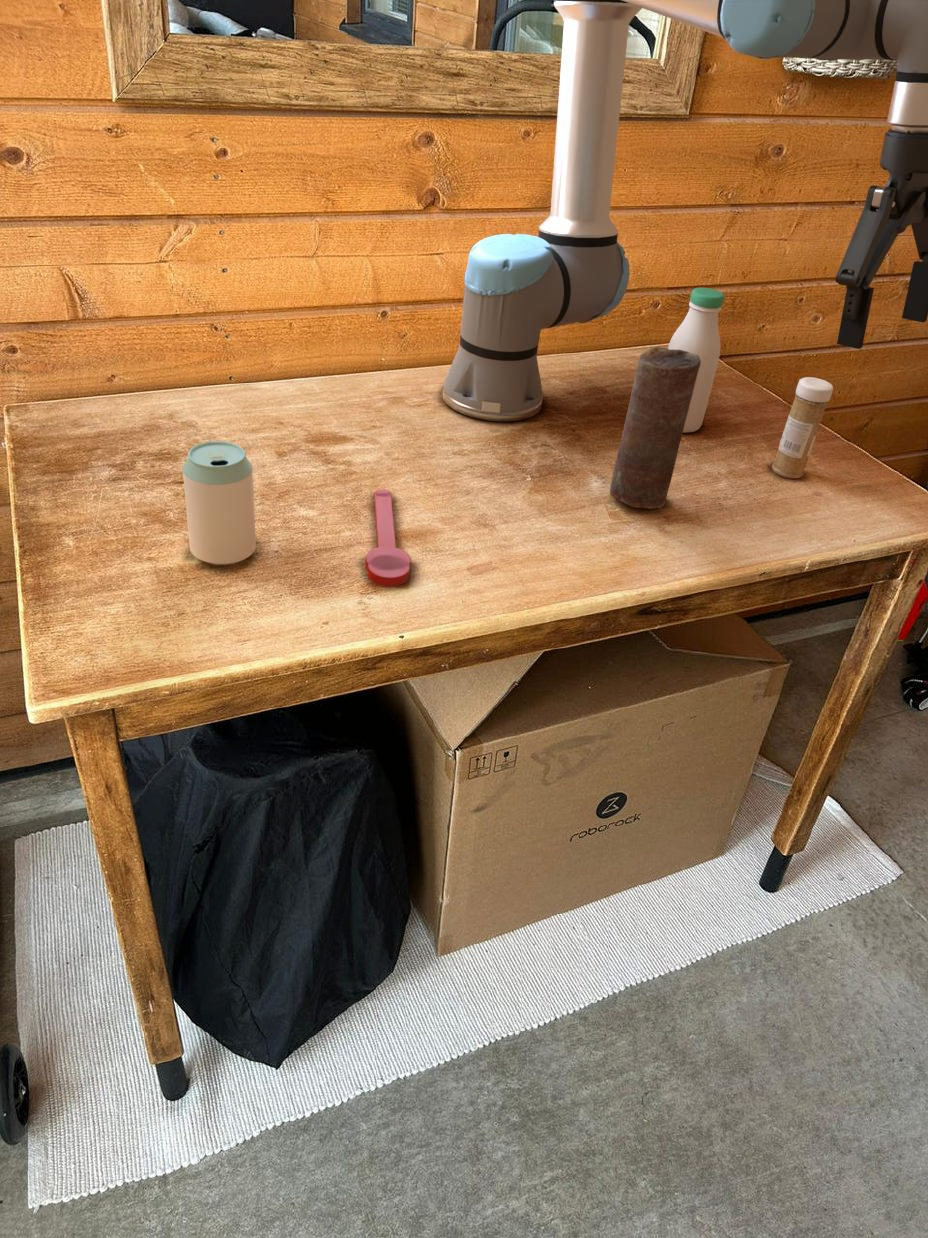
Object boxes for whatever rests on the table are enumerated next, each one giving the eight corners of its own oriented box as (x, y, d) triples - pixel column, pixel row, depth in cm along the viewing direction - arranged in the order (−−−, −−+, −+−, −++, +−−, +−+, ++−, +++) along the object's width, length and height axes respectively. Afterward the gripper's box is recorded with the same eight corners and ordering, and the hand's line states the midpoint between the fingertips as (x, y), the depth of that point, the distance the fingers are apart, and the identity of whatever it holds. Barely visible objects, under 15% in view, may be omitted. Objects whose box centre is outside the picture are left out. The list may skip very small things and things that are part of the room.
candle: (650, 523, 117) (688, 370, 105) (598, 503, 120) (629, 352, 108) (672, 500, 123) (711, 353, 111) (622, 482, 125) (654, 336, 113)
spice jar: (809, 476, 132) (841, 386, 124) (788, 482, 130) (819, 391, 122) (784, 462, 135) (814, 373, 127) (763, 468, 133) (792, 378, 125)
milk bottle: (703, 419, 145) (738, 289, 133) (697, 438, 139) (733, 304, 127) (655, 408, 147) (685, 279, 135) (646, 426, 141) (677, 293, 129)
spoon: (361, 495, 116) (362, 486, 115) (402, 496, 116) (402, 487, 116) (366, 586, 100) (366, 577, 99) (412, 587, 101) (413, 578, 100)
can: (269, 549, 104) (266, 452, 97) (224, 576, 99) (217, 476, 92) (222, 527, 107) (216, 431, 99) (176, 553, 102) (166, 453, 94)
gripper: (893, 144, 88) (850, 365, 100) (1019, 116, 100) (968, 315, 112) (823, 138, 93) (790, 350, 105) (951, 112, 105) (909, 303, 117)
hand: (882, 332), depth 108 cm, fingers open, 13 cm apart
